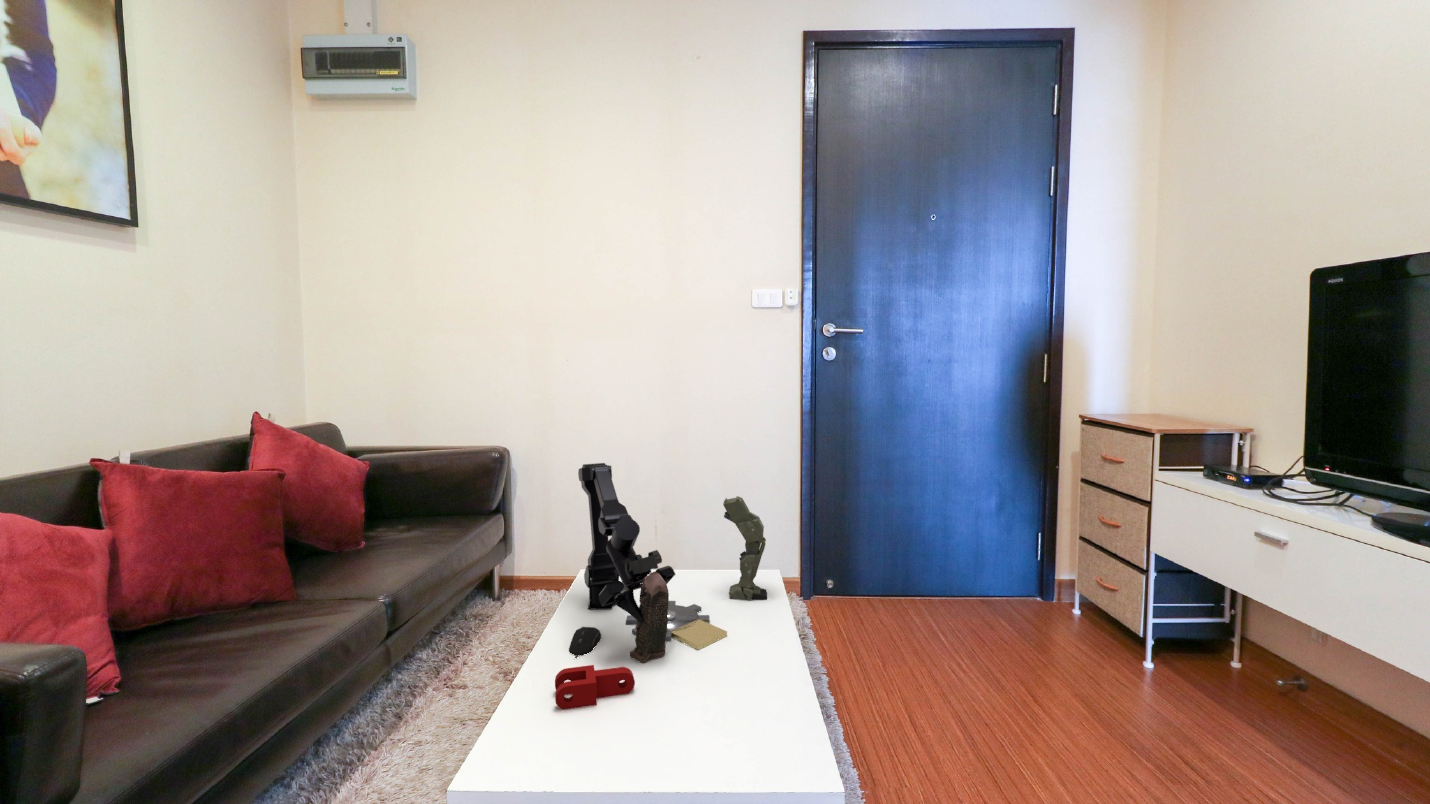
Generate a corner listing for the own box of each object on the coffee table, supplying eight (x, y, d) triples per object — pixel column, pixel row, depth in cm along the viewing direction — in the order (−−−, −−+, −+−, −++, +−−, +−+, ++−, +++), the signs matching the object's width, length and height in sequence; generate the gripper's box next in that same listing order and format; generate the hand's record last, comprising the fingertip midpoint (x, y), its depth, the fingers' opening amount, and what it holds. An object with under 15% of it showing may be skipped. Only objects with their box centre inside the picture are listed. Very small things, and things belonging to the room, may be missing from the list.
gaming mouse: (559, 663, 144) (559, 646, 144) (579, 633, 159) (579, 618, 159) (586, 664, 144) (586, 647, 143) (604, 634, 158) (604, 619, 158)
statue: (649, 646, 151) (648, 564, 149) (671, 655, 147) (670, 572, 145) (628, 657, 146) (626, 573, 144) (650, 667, 142) (648, 581, 139)
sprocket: (609, 622, 164) (609, 614, 164) (671, 598, 179) (671, 591, 179) (679, 658, 145) (679, 649, 145) (742, 628, 161) (742, 620, 160)
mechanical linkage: (555, 712, 125) (555, 688, 124) (555, 692, 132) (554, 669, 131) (636, 700, 129) (636, 677, 129) (631, 682, 136) (631, 660, 135)
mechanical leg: (779, 589, 184) (755, 489, 182) (779, 599, 177) (754, 495, 175) (733, 598, 186) (709, 500, 184) (731, 608, 178) (706, 506, 176)
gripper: (604, 550, 141) (634, 613, 133) (670, 532, 153) (700, 590, 146) (586, 575, 147) (614, 637, 140) (650, 556, 160) (679, 612, 153)
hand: (653, 618), depth 145 cm, fingers closed on statue, 6 cm apart
